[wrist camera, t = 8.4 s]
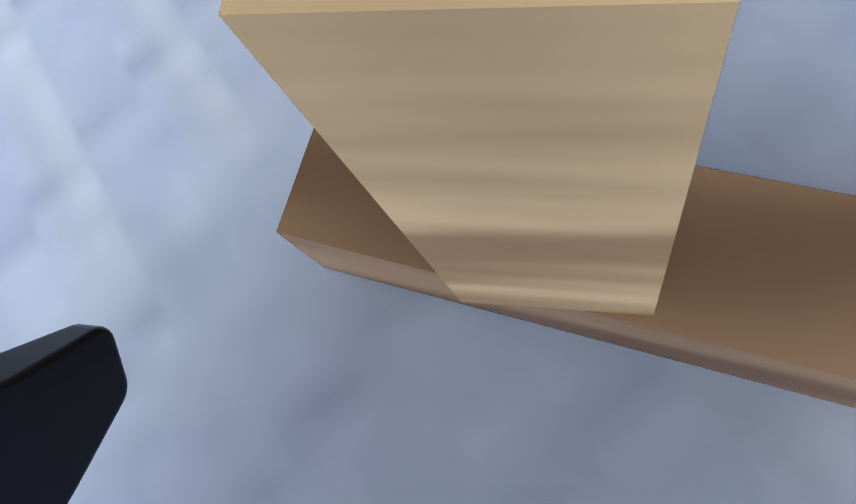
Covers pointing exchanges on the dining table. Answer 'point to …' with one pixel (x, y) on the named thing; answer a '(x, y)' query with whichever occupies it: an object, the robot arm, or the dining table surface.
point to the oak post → (510, 129)
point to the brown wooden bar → (683, 282)
